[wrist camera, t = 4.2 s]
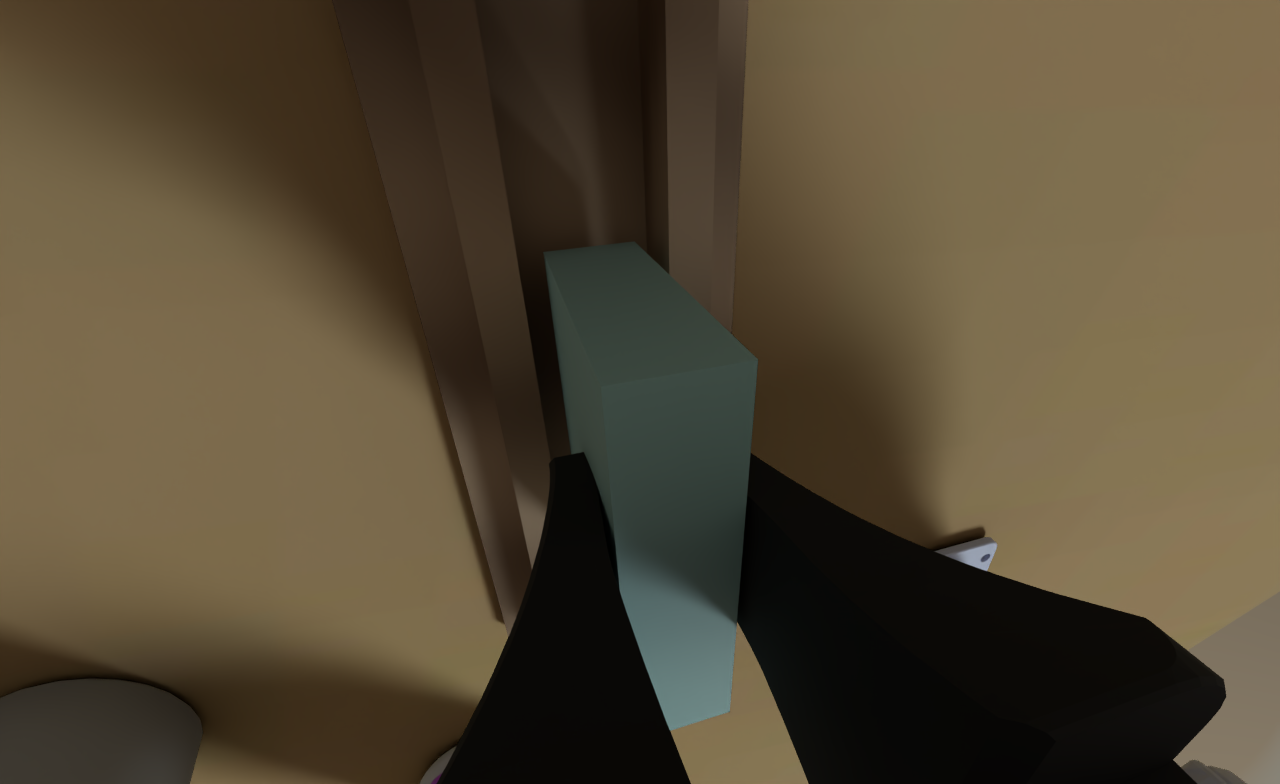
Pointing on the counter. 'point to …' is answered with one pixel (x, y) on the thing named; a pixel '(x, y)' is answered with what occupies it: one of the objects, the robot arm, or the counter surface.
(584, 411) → the teal rectangular block
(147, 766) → the cup
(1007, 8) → the counter surface
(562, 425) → the track
